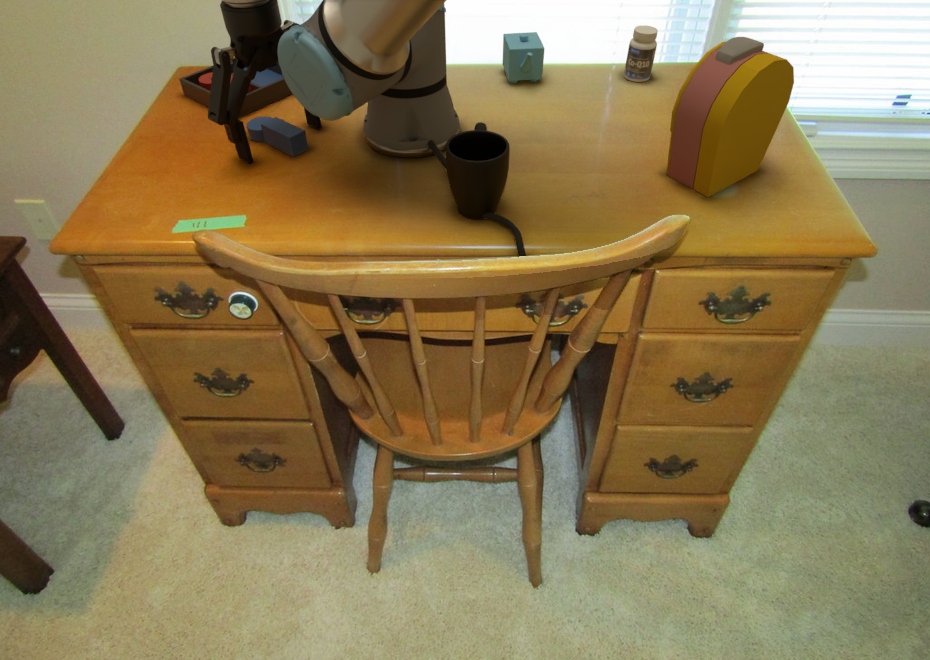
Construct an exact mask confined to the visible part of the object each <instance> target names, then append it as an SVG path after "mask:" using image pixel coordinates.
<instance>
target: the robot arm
mask: <svg viewBox="0 0 930 660" xmlns="http://www.w3.org/2000/svg"><path fill="white" fill-rule="evenodd" d="M445 2H447V0H322V1H321V2H320V4H319V5H318V6H317V8H316V9H315V10H314V13H313V14H312V15H311V16H310V17H309V18H308V19H307V20H305V21H304V22H302V23H301V24H300V23H297V22H294V21H291V20H290V19H285V20H284V21H283V25H282V17H281V12H280V5H279V1H278V0H221V2H220V4H219V6H220V7H219V8H220V11H221V14H222V18H223V22H224V26H225V29H226V31H227V34H228V36H229V40H230V42H229V46H227V47H223V48H221V47H220V48H219V47H217V46H213V47H212V48H211V50H210V55H211V60H212V66H213V73H212V82H211V91H210V100H209V107H208V108H207V109H208V110H207V119H208V120H209V121H210V122H213V123H215V124H217V125H218V126H223V127H224V130H225V133H226V137H227V140H228V142H230V143H231V144H233V145H234V146H235V151H236V154H237V156H238V159H240V160H241V161H243V162H245V163H247V164H249V165H251V164H253V163H254V162H255V161H254V157H253V154H252V151H251V147H250V143H249V142H250V141H249V139H248V135H247V132H246V129H245V125H244V122H243V121H242V120H240V119H239V118H238V117H239V114H240V112H241V109H242V106H243V103H244V100H245V97H246V94H247V91H248V88H249V86H250V83H251V81H252V80H253V79H254V78H255V76H256V73H257V72H262V71H264V70H265V69H267V68H268V67H274V66H276V65H277V64H276V63H277V62H278V61H279V65H280V67H281V70H282V75H283V77H284V79H285V81H286V83H287V85H288V87H289V89H290V90H291V92H292V95H293V96H294V98H295V99H296V100H297V102H298V103H299V104H300V105H301V106H302V107H303V109H304V116H305V120H306V125H308V126H311V127H312V128H315V129H316V130H321V129H322V128H323V127H322V121H321V120H323V121H328V122H329V121H331V122H334V121H338V120H339V119H342V118H344V117H348V116H351V114H352V113H353V112H355V111H356V110H357V109H360V108H361V107H363V106H364V105H365V104H367V107H366V115H365V117H364V119H363V135H364V141H365V143H366V144H367V145H368V146H369V147H370V149H372V150H374V151H376V152H378V153H380V154H383V155H386V156H390V157H396V158H406V159H407V158H409V159H410V158H422V157H427V156H432V155H434V156H435V157H436V158H437V159H438V161H439V162H440V164H441V166H442V167H443V168H444V169H445V170H446V156H445V155H444V154H443V153H442V152H443V151H445V146H446V143H447V141H448V140H449V139H450V138H451V137H452V136H454V135H456V134H458V133H461V123H460V119H459V115H458V113H457V110H456V109H455V107H454V103H453V99H452V96H451V93H450V90H449V87H448V81H447V79H448V77H447V41H446V37H447V36H446V12H447V9H446V7H445ZM234 57H236V61H235V64H234V67H233V71H234V74H233V77H232V80H231V65H232V64H233V63H234V61H233V58H234ZM244 65H245V66H246V67H247V68H248V69H247V70H246V71H245V70H244V69H243V68H244ZM230 81H231V83H230ZM482 217H483V218H485V219H484V220H489V221H492V222H496V223H498V224H500V225H502V226H504V227H506V228H507V229H508V230H509V231H510V232H511V234H512V236H513V239H514V242H515V247H516V252H517V256H518V257H519V256H526V257H527V254H526V253H527V252H526V250H525V246H524V240H523V236H522V232H521V230H520V229H519V228H518V227H517V226H516V224H515V223H513V222H512V221H511V220H510V219H508V218H506V216H503V215H500V214H497V213H495V214H494V213H491V212H487V213H485V214H484V215H482Z"/></svg>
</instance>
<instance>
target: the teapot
mask: <svg viewBox="0 0 930 660" xmlns="http://www.w3.org/2000/svg"><path fill="white" fill-rule="evenodd" d="M502 36H503V39H502V40H503V41H502V44H503V45H502V67H503V69H504V73H505V75H506V78H507V80H508V83H510V84H517V83H518V81H529V82H531V83H536V82H538V80H542V79H543V72H544V58H545V57H544V56H545V46H544V44H543V42H542V39H541V38H540V36H539V33H538V32H537V31H531V32H513V33H512V32H511V33H503V35H502Z"/></svg>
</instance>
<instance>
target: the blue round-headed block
mask: <svg viewBox="0 0 930 660" xmlns="http://www.w3.org/2000/svg"><path fill="white" fill-rule="evenodd" d="M246 129H247V132H248V136H249V139H250V140H251V141H254V142H257V143H265V144H267V145H269V146H271V147H273V148H275V149H278V150H279V151H281V152H283V153H285V154H288V155H290V156H291V157H293V158H294V157H297V156H298V155H300V154H302V153H305V152H306V151H308V150H309V149H310V148H309V143H308V138H307V133H306V130H305V129H304V128H301V127H299V126H296V125H295V124H292V123H290V122H288V121H286V120H283V119H282V118H279V117H277V116H274V117H271V116H267V115H266V116H265V115H264V116H256V117H254V118H251V119H250V120H248V121H247V122H246Z"/></svg>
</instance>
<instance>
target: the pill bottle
mask: <svg viewBox="0 0 930 660" xmlns="http://www.w3.org/2000/svg"><path fill="white" fill-rule="evenodd" d="M658 33H659V32H658V29H657V28H656V27H655V26H651V25H642V24H641V25H637V26H635V27H634V29H633V32H632V38H631V39H630V41H629V44H628V49H627V54H626V55H627V56H626V62H625V67H624V72H623V76H624V78H625V79H626V80H628V81H631V82H635V83H642V82H647V81H649V80H650V78H651V74H652V70H653V66H654V61H655V58H656V57H655V56H656V51H657V46H658V42H657V41H656V40H657V36H658Z"/></svg>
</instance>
